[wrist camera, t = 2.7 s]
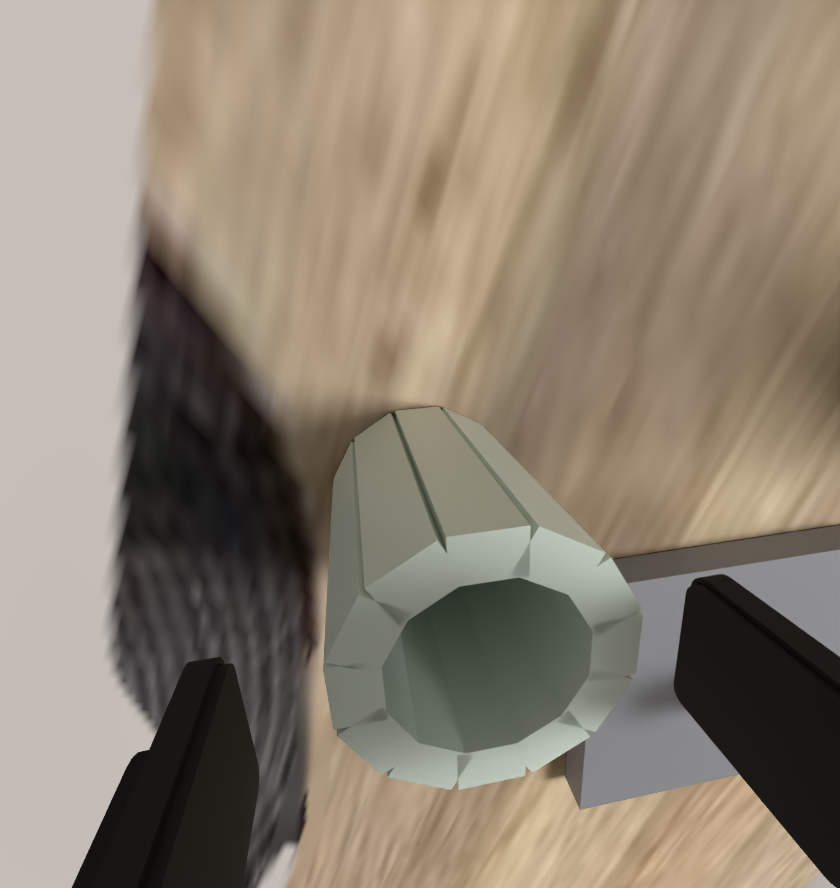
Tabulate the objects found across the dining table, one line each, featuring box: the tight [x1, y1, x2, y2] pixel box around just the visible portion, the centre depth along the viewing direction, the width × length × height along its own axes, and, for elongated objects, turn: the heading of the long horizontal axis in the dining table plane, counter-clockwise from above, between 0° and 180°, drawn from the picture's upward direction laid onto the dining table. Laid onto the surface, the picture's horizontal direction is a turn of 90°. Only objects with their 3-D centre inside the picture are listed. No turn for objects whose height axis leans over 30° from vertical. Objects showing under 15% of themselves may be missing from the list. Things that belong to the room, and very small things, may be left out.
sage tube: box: [323, 406, 643, 790], centre depth 12 cm, size 6×6×8 cm
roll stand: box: [565, 525, 840, 810], centre depth 17 cm, size 12×12×8 cm
